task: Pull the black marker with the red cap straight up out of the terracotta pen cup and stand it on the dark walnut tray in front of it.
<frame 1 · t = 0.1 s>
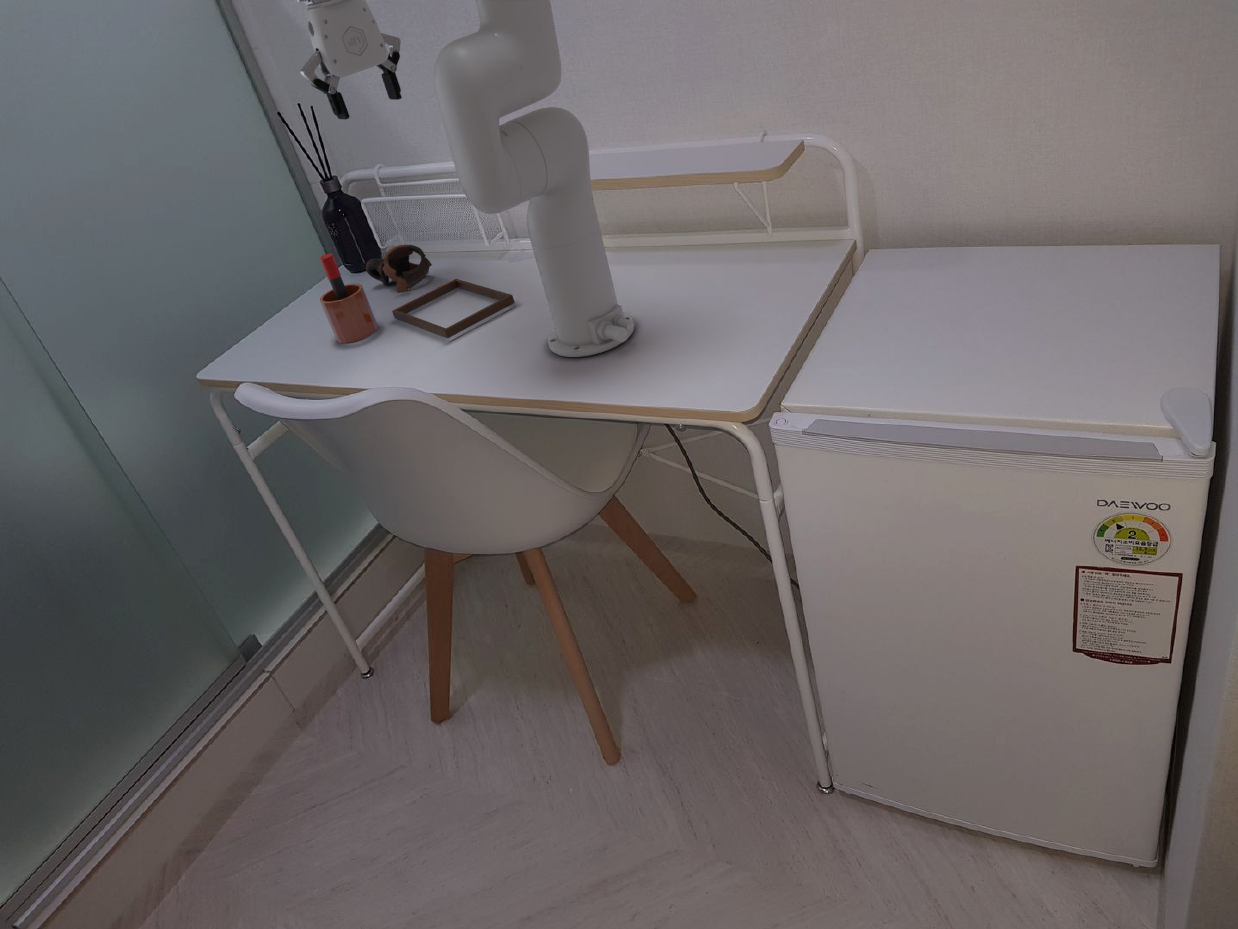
hand: (370, 108, 147), 31 cm above the table, tool pointing down, fingers open, 9 cm apart
marker: (357, 332, 152), point 1 cm above the table, touching pen cup
pen cup: (359, 337, 152), on the table, touching marker
tray: (454, 314, 151), on the table
pottery mug: (405, 286, 168), on the table
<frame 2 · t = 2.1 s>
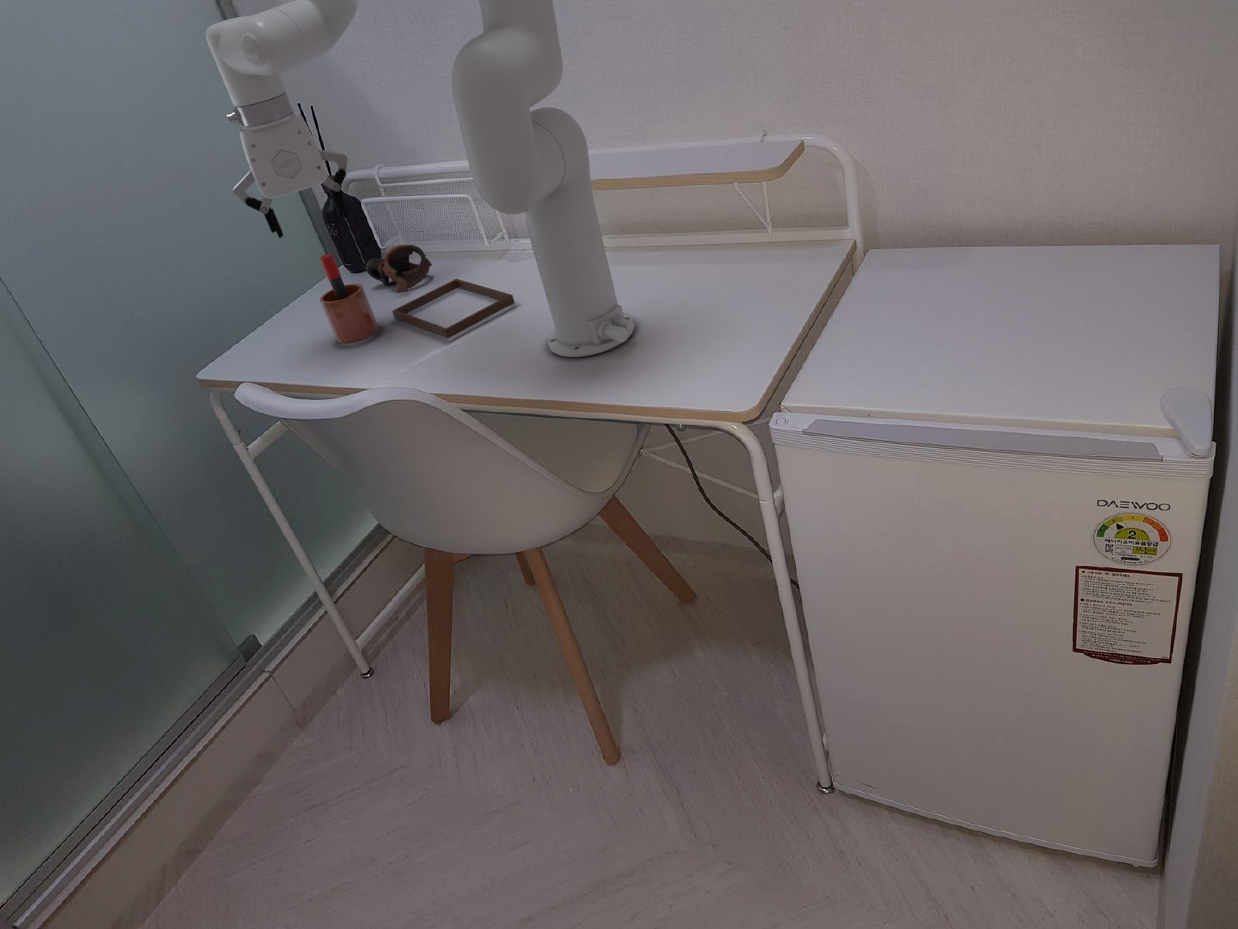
hand: (311, 225, 142), 19 cm above the table, tool pointing down, fingers open, 9 cm apart
nothing on the table moved.
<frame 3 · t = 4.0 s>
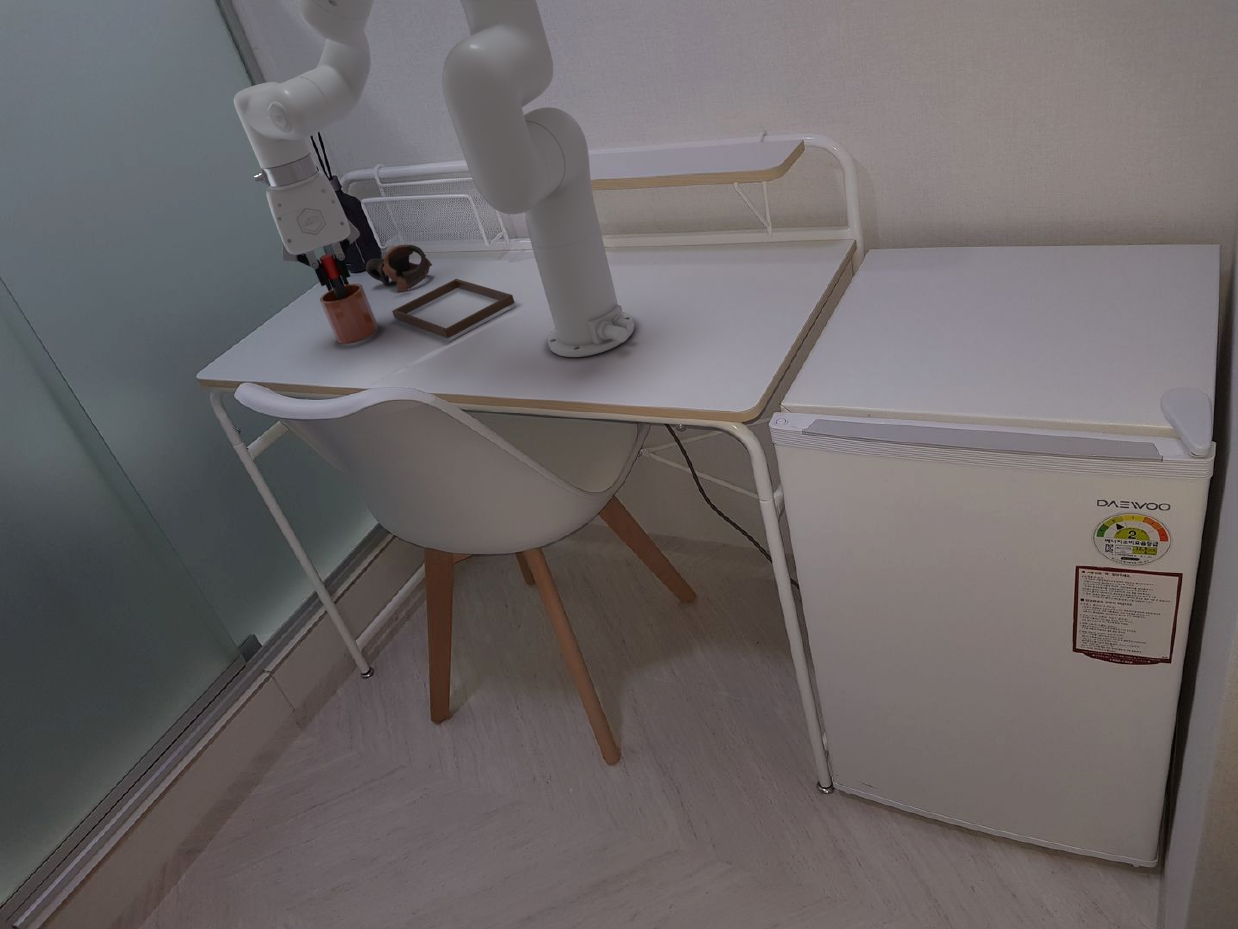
hand: (337, 284, 147), 9 cm above the table, tool pointing down, fingers closed on marker, 2 cm apart
marker: (357, 332, 152), point 1 cm above the table, touching gripper, pen cup
everything else where it was.
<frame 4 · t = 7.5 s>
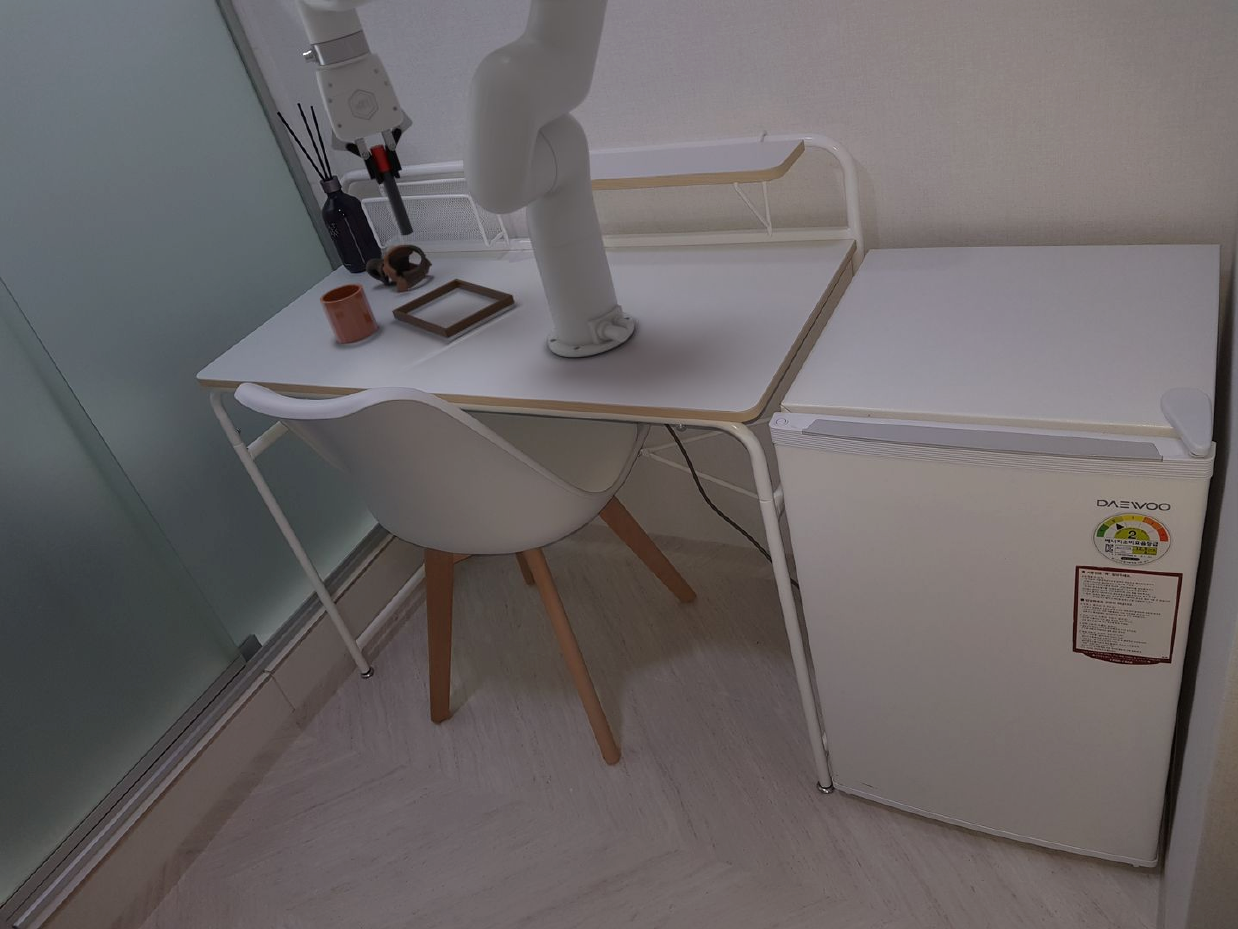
hand: (388, 178, 139), 23 cm above the table, tool pointing down, fingers closed on marker
marker: (407, 233, 143), point 15 cm above the table, touching gripper
pen cup: (359, 337, 152), on the table
everything else where it was.
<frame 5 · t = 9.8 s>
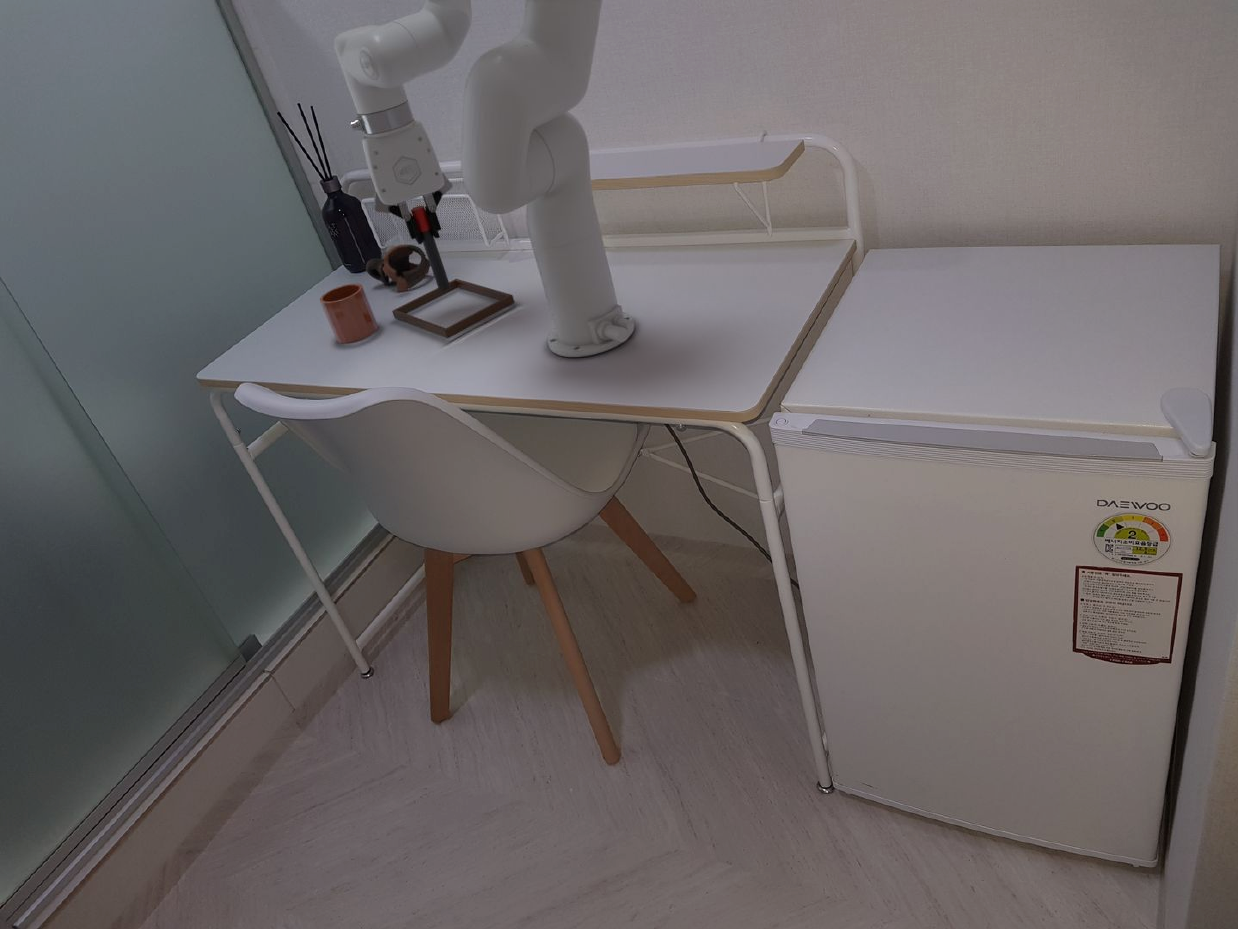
hand: (427, 237, 144), 13 cm above the table, tool pointing down, fingers closed on marker
marker: (444, 288, 149), point 5 cm above the table, touching gripper
everything else where it was.
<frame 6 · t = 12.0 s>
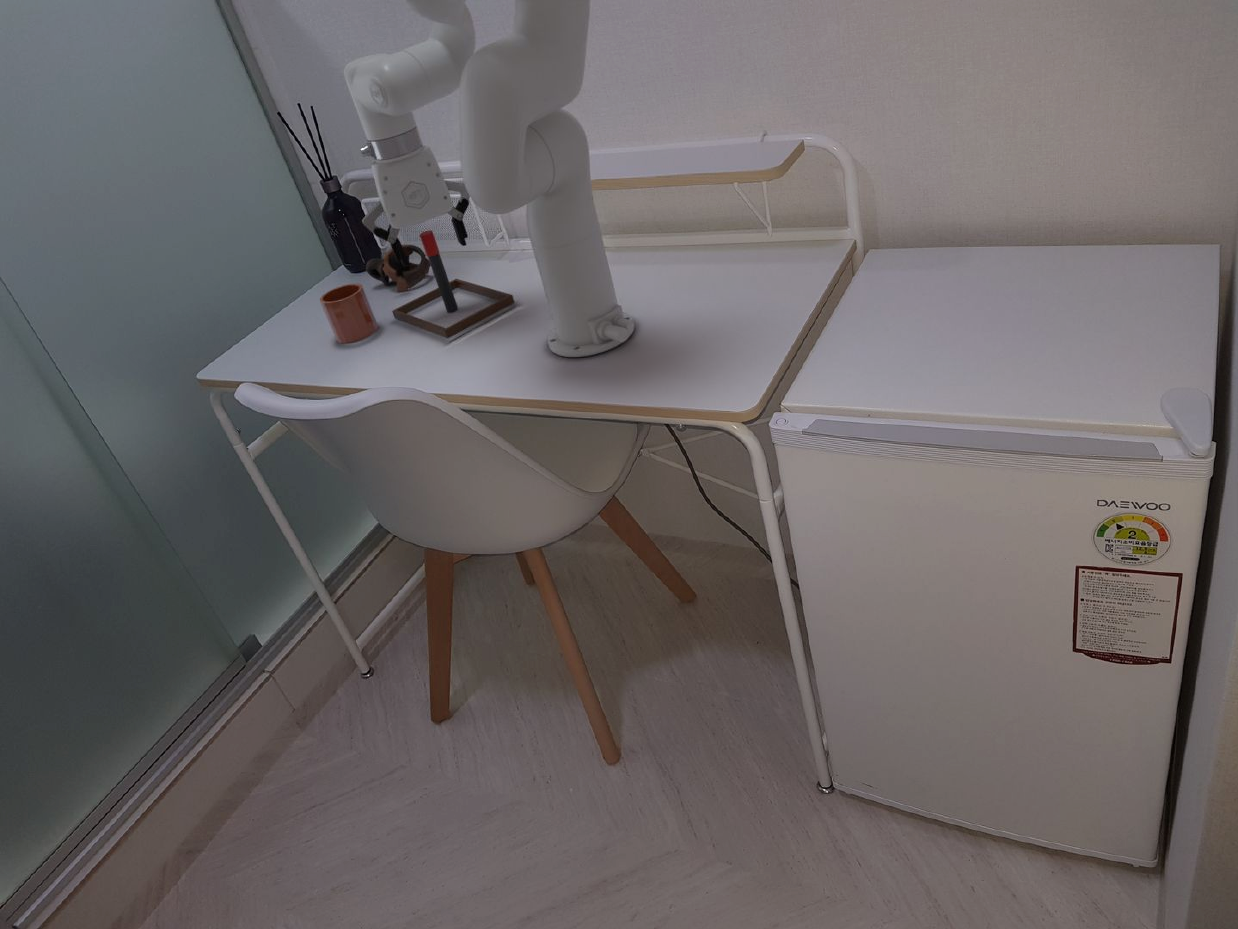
hand: (434, 253, 145), 11 cm above the table, tool pointing down, fingers open, 9 cm apart
marker: (453, 311, 151), point 1 cm above the table, touching tray
everything else where it was.
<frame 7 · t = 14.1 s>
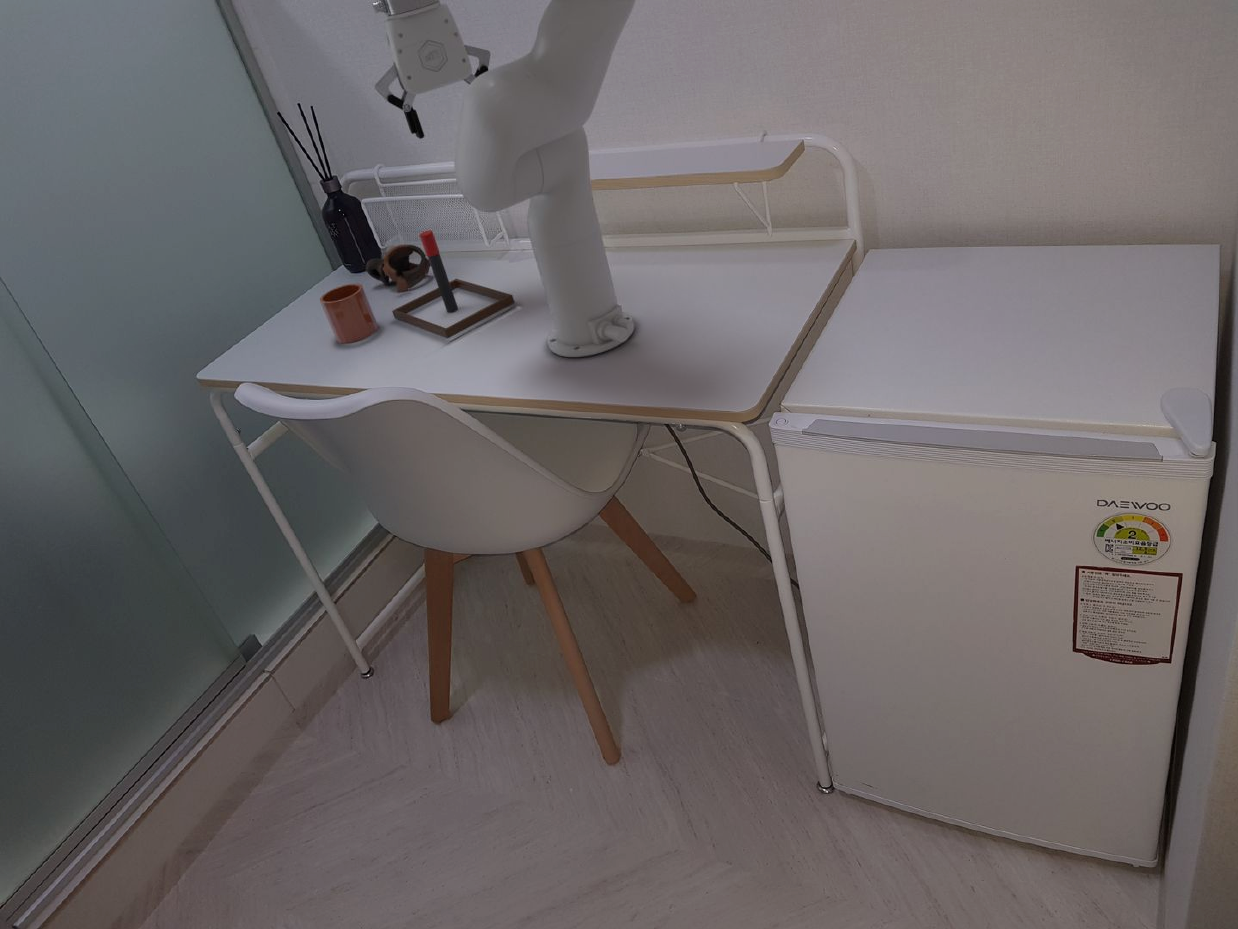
hand: (451, 126, 136), 28 cm above the table, tool pointing down, fingers open, 9 cm apart
nothing on the table moved.
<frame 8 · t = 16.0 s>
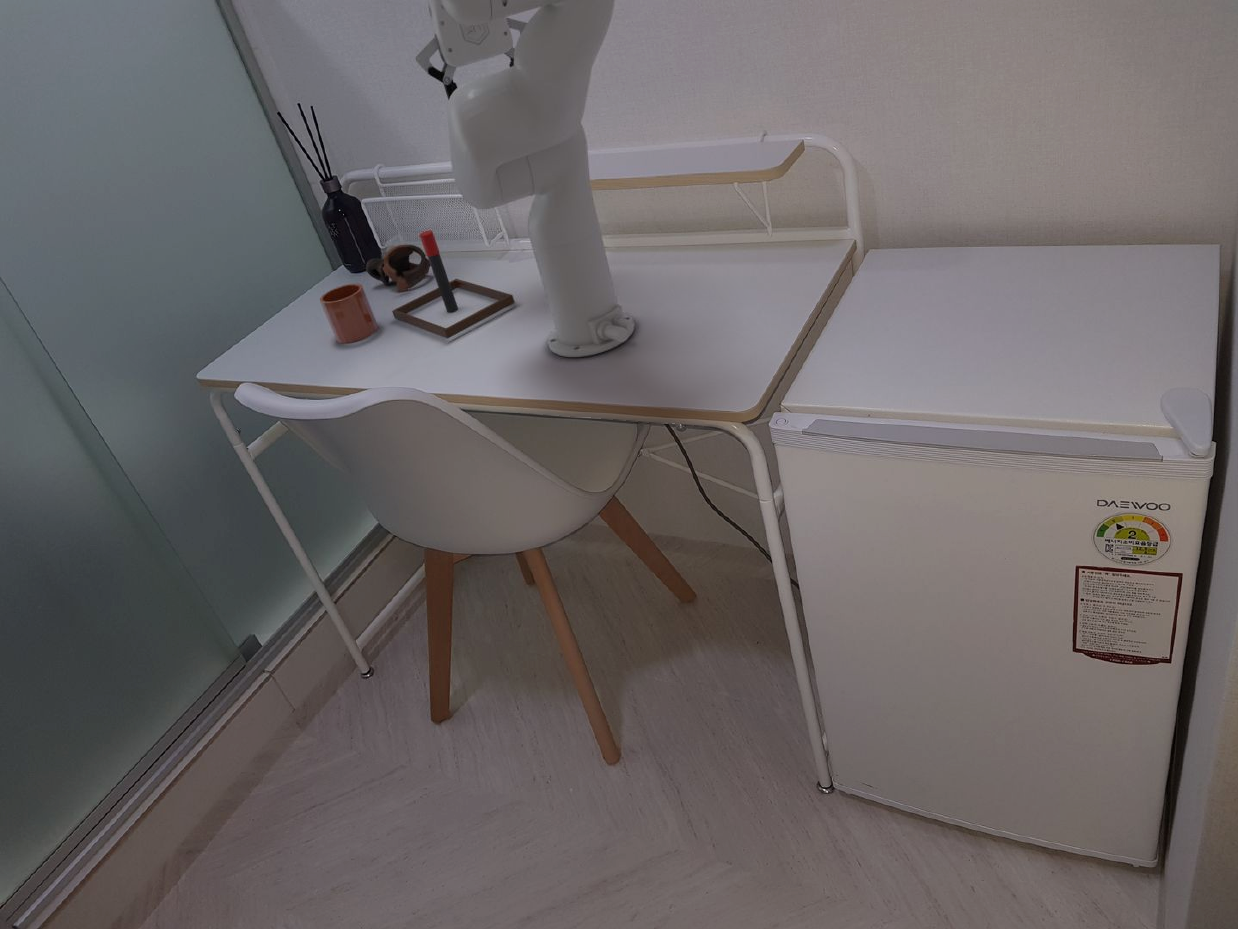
hand: (490, 100, 135), 30 cm above the table, tool pointing down, fingers open, 9 cm apart
nothing on the table moved.
at the end: marker inside the target area in the tray (0.2 cm from its centre), point 0.6 cm above the tray's base; the gripper is holding nothing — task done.
